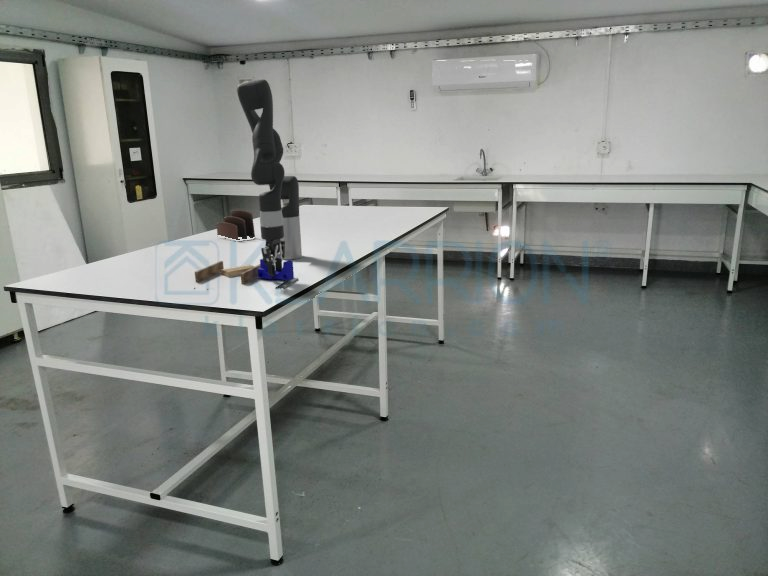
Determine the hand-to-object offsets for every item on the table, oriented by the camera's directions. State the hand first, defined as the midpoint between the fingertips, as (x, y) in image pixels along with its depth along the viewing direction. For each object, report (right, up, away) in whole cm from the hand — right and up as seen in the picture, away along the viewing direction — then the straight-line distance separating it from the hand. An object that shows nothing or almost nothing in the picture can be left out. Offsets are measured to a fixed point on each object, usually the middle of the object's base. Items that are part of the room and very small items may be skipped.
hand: (275, 273), depth 188 cm
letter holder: (-38, +20, +91) cm, 101 cm away
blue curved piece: (0, -2, 0) cm, 2 cm away
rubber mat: (0, -3, +1) cm, 3 cm away
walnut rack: (-16, -2, +6) cm, 17 cm away
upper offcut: (-15, 0, +11) cm, 18 cm away
